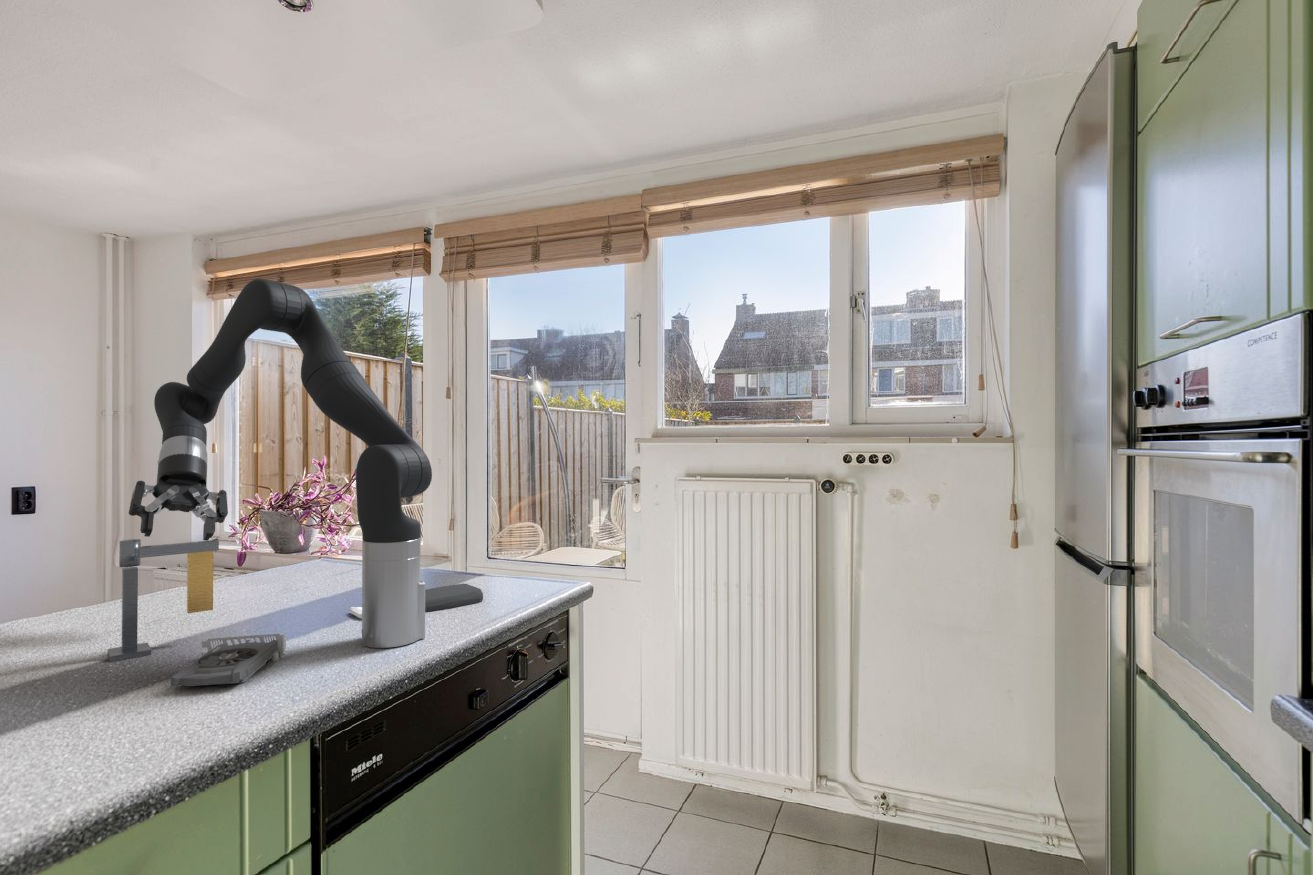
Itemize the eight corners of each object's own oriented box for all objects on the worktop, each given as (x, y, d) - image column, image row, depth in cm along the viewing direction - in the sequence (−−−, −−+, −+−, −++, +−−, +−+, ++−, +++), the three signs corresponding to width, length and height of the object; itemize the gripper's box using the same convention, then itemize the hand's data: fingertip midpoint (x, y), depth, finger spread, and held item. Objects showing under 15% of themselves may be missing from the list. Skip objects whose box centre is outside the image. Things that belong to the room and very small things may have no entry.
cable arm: (215, 607, 113) (216, 532, 113) (218, 609, 111) (219, 534, 111) (118, 621, 104) (118, 540, 104) (119, 624, 102) (120, 542, 102)
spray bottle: (486, 604, 138) (365, 628, 121) (463, 594, 146) (346, 616, 129) (486, 590, 138) (364, 612, 121) (463, 581, 146) (346, 601, 129)
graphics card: (205, 636, 103) (288, 630, 105) (205, 660, 103) (288, 654, 105) (143, 675, 87) (243, 667, 89) (144, 704, 87) (244, 695, 89)
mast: (147, 647, 107) (147, 564, 107) (151, 654, 103) (151, 568, 103) (107, 654, 104) (108, 568, 104) (110, 661, 100) (110, 572, 100)
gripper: (141, 446, 117) (133, 519, 108) (232, 458, 127) (232, 527, 118) (130, 472, 121) (121, 545, 111) (220, 482, 130) (219, 551, 121)
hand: (178, 536), depth 115 cm, fingers open, 8 cm apart
